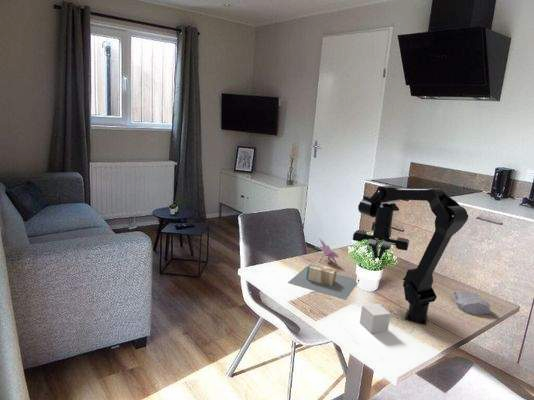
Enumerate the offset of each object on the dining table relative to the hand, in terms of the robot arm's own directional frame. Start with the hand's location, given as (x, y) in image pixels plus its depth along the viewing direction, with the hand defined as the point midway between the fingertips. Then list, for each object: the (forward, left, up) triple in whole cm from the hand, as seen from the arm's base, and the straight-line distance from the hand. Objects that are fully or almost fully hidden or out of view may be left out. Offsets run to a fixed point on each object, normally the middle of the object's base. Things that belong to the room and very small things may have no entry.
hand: (377, 262), depth 140 cm
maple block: (-3, +14, -9) cm, 17 cm away
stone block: (+11, -31, -12) cm, 35 cm away
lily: (+18, +24, -12) cm, 32 cm away
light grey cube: (-25, -5, -12) cm, 28 cm away
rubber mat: (-3, +18, -12) cm, 21 cm away
